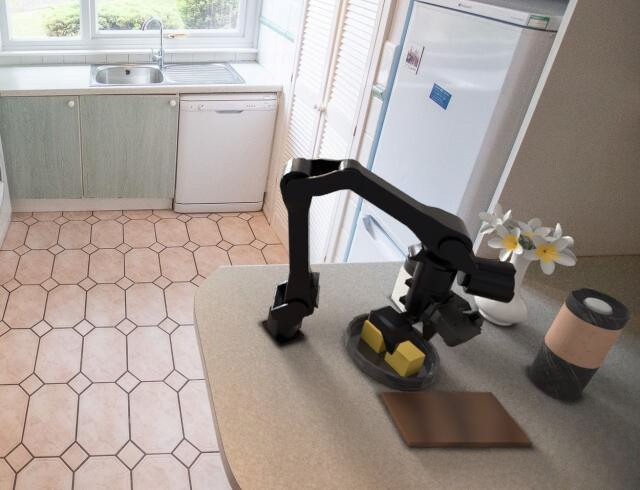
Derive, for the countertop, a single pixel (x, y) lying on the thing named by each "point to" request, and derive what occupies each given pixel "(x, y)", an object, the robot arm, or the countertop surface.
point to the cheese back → (373, 337)
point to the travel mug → (578, 342)
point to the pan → (380, 368)
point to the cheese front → (406, 359)
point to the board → (453, 419)
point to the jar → (403, 281)
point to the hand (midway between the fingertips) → (407, 346)
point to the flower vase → (521, 259)
